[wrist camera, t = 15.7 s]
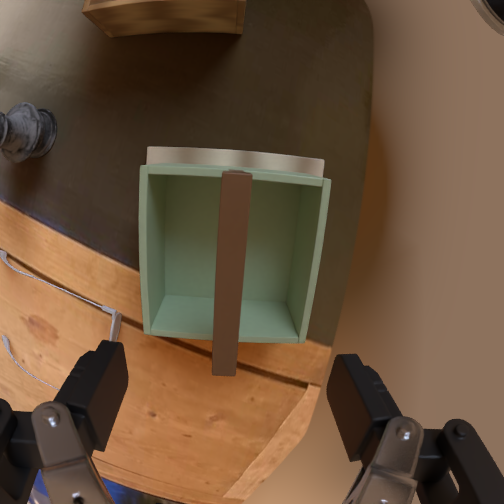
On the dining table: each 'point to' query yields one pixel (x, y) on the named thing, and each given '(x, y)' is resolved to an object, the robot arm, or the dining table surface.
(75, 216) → the dining table surface
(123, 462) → the dining table surface
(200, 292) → the top basket
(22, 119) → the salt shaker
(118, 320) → the eyeglasses
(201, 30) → the brown wooden open box
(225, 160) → the placemat
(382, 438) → the robot arm
